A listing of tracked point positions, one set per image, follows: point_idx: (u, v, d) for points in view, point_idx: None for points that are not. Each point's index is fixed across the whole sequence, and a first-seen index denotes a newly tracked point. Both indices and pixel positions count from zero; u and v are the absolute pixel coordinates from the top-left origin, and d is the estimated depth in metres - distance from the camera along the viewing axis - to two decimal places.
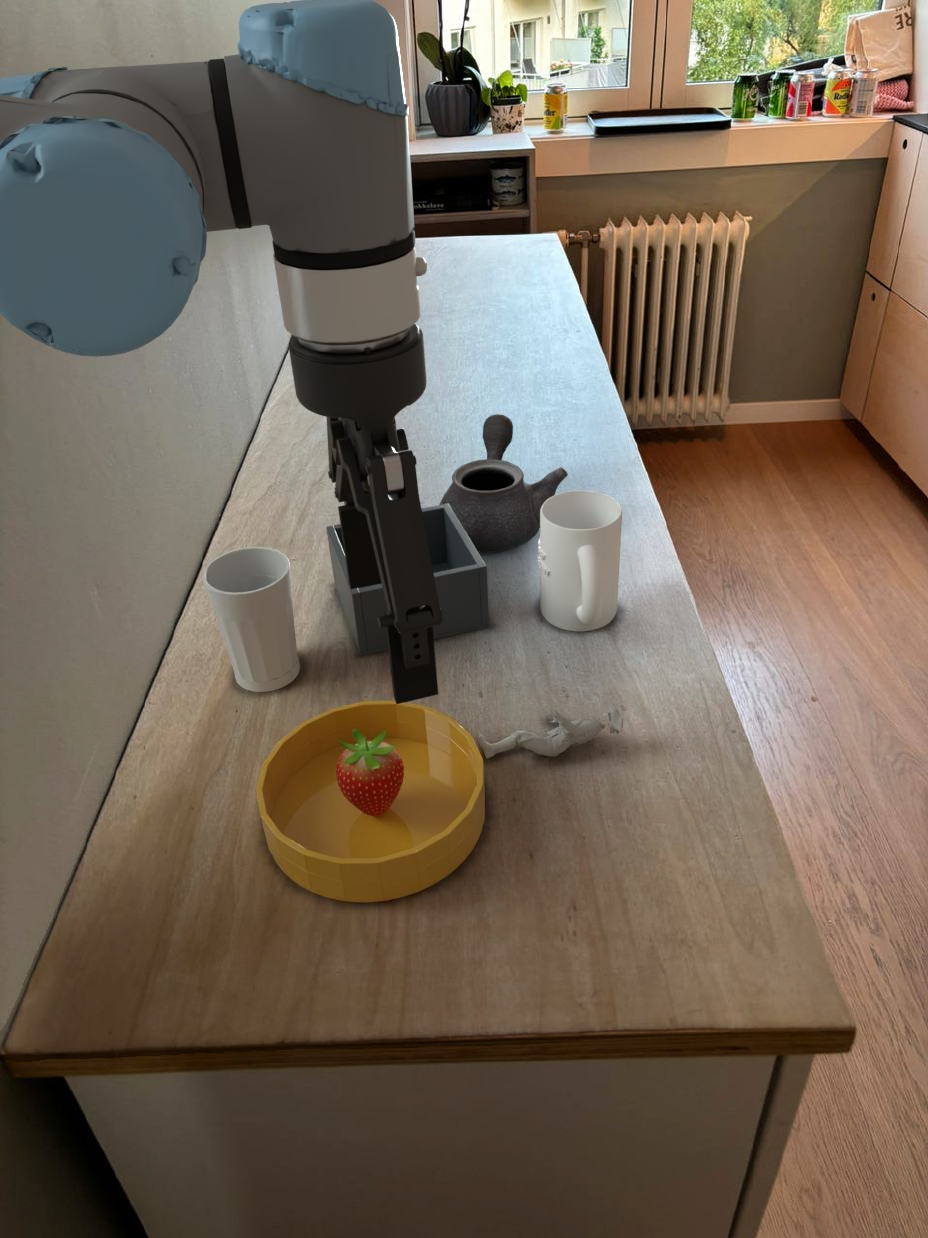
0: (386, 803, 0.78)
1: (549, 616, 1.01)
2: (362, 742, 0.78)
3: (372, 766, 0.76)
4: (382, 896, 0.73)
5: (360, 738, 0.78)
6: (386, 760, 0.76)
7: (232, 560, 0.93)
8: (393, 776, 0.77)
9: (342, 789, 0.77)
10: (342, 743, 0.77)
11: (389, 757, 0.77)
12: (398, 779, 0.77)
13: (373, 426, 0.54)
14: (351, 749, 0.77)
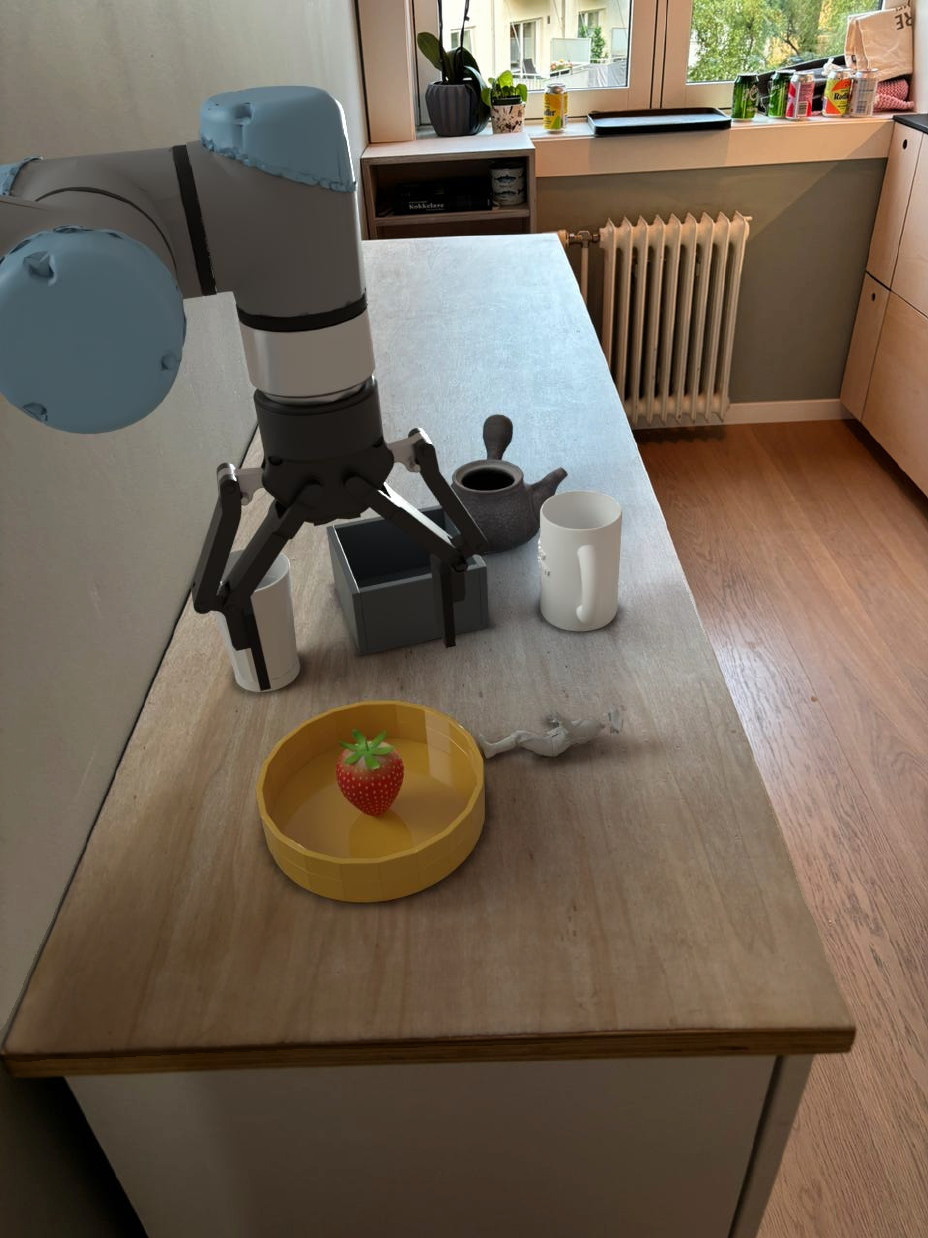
0: (386, 803, 0.78)
1: (549, 616, 1.01)
2: (362, 742, 0.78)
3: (372, 766, 0.76)
4: (382, 896, 0.73)
5: (360, 738, 0.78)
6: (386, 760, 0.76)
7: (232, 560, 0.93)
8: (393, 776, 0.77)
9: (342, 789, 0.77)
10: (342, 743, 0.77)
11: (389, 757, 0.77)
12: (398, 779, 0.77)
13: None
14: (351, 749, 0.77)
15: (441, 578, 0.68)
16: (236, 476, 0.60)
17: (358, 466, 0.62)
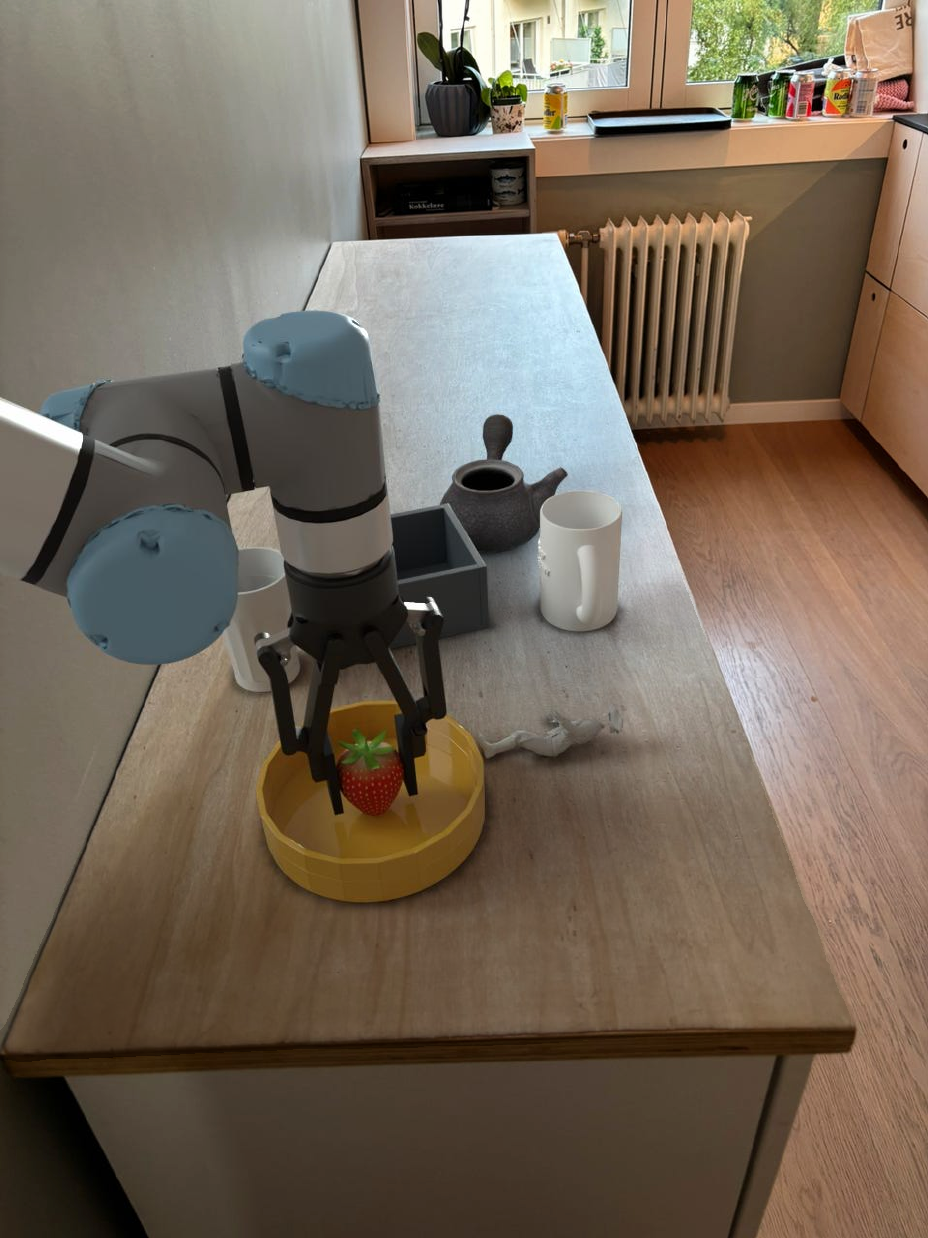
0: (386, 803, 0.78)
1: (549, 616, 1.01)
2: (362, 742, 0.78)
3: (372, 766, 0.76)
4: (382, 896, 0.73)
5: (360, 738, 0.78)
6: (386, 760, 0.76)
7: None
8: (393, 776, 0.77)
9: (342, 789, 0.77)
10: (342, 743, 0.77)
11: (389, 757, 0.77)
12: (398, 779, 0.77)
13: None
14: (351, 749, 0.77)
15: (403, 740, 0.76)
16: (269, 645, 0.68)
17: (377, 614, 0.69)
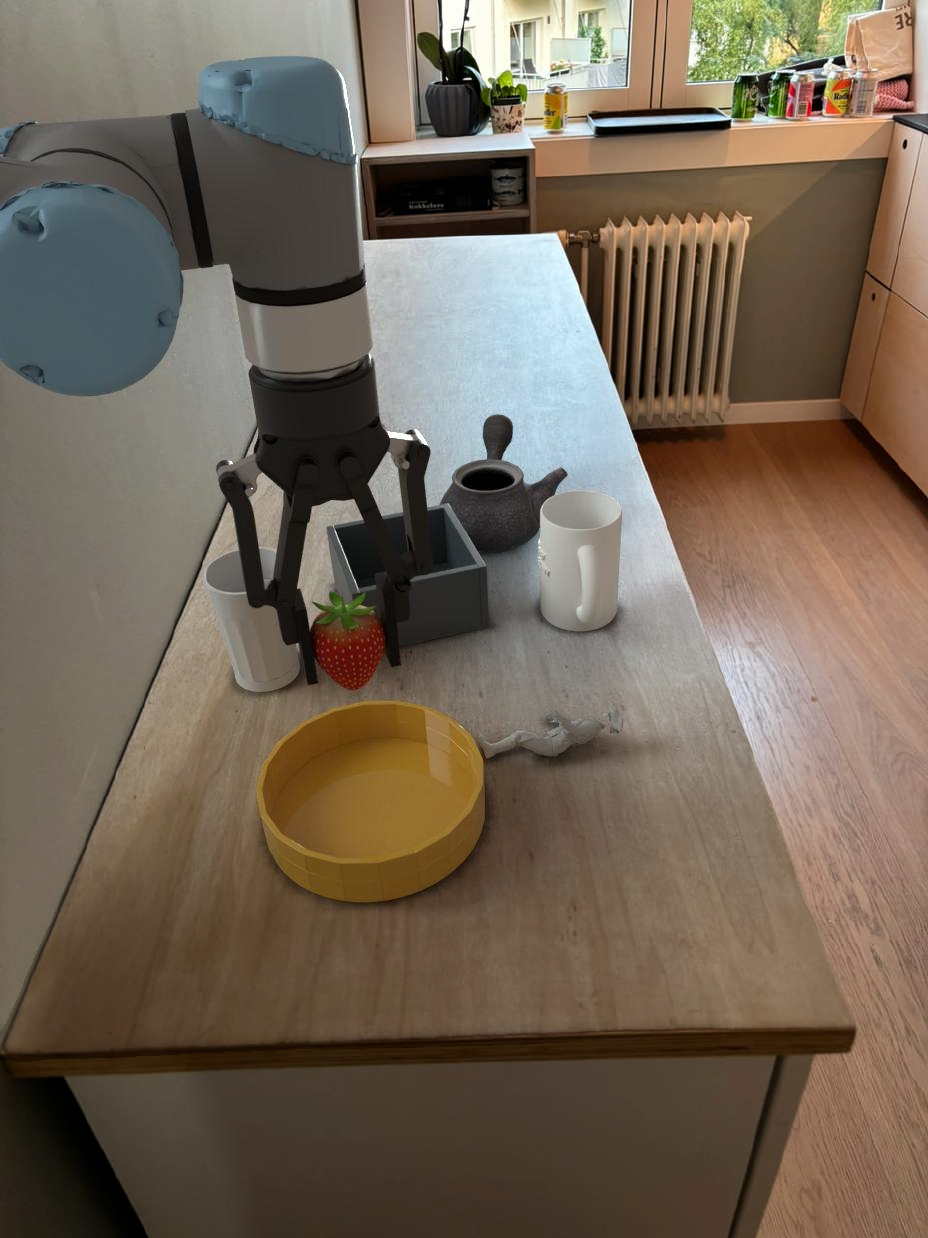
0: (365, 672, 0.70)
1: (549, 616, 1.01)
2: (339, 604, 0.70)
3: (350, 626, 0.68)
4: (382, 896, 0.73)
5: (337, 600, 0.70)
6: (365, 622, 0.69)
7: (231, 560, 0.93)
8: (373, 640, 0.69)
9: (316, 655, 0.69)
10: (317, 604, 0.69)
11: (369, 619, 0.69)
12: (379, 645, 0.69)
13: None
14: (326, 610, 0.69)
15: (384, 598, 0.68)
16: (232, 471, 0.60)
17: (355, 438, 0.61)
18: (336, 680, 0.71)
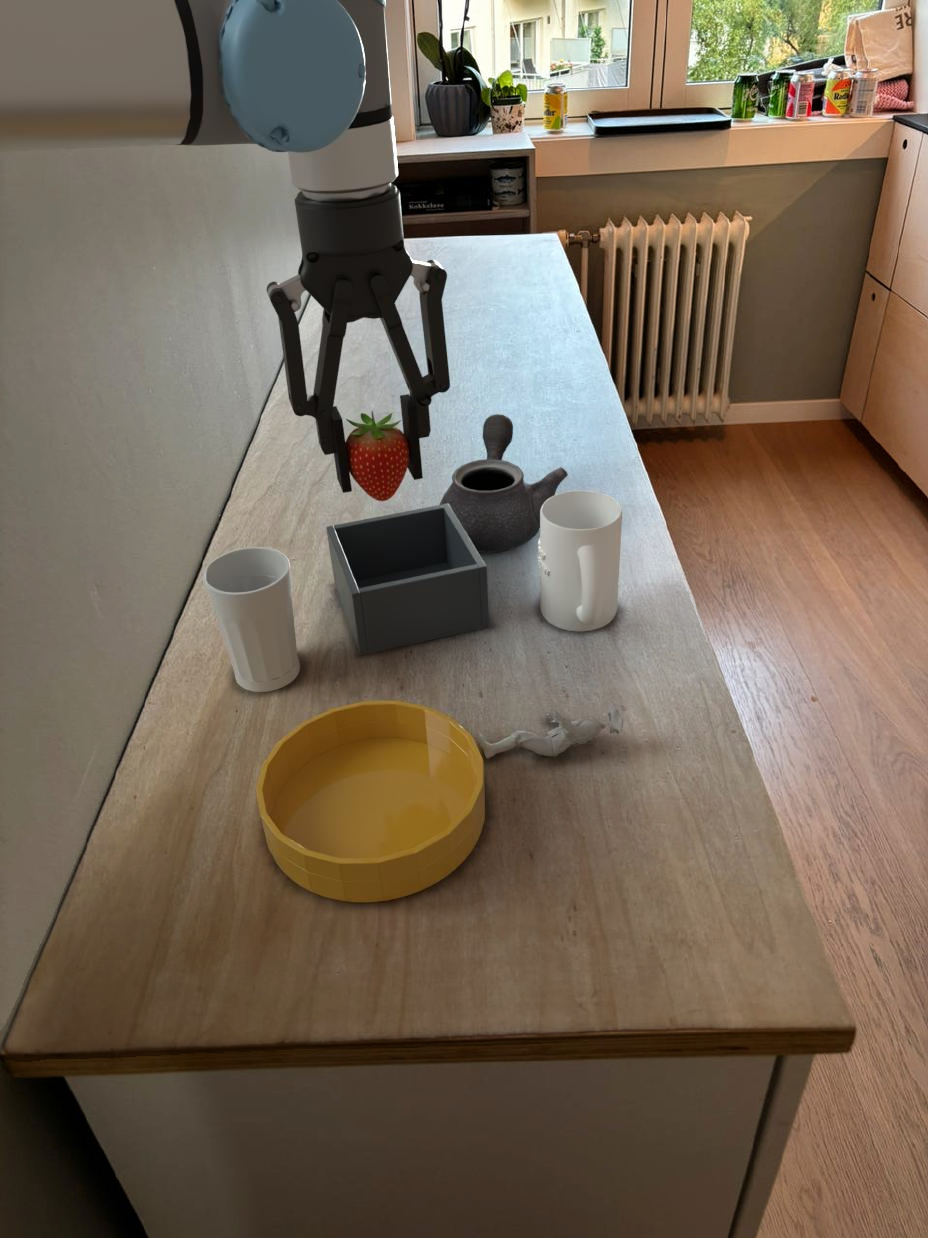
0: (392, 480, 0.81)
1: (549, 616, 1.01)
2: (369, 422, 0.81)
3: (379, 436, 0.79)
4: (382, 896, 0.73)
5: (367, 419, 0.82)
6: (392, 435, 0.80)
7: (232, 560, 0.93)
8: (399, 451, 0.80)
9: (350, 464, 0.81)
10: (350, 421, 0.81)
11: (395, 433, 0.80)
12: (404, 456, 0.81)
13: None
14: (359, 426, 0.81)
15: (408, 412, 0.79)
16: (280, 288, 0.72)
17: (384, 260, 0.72)
18: (367, 489, 0.82)
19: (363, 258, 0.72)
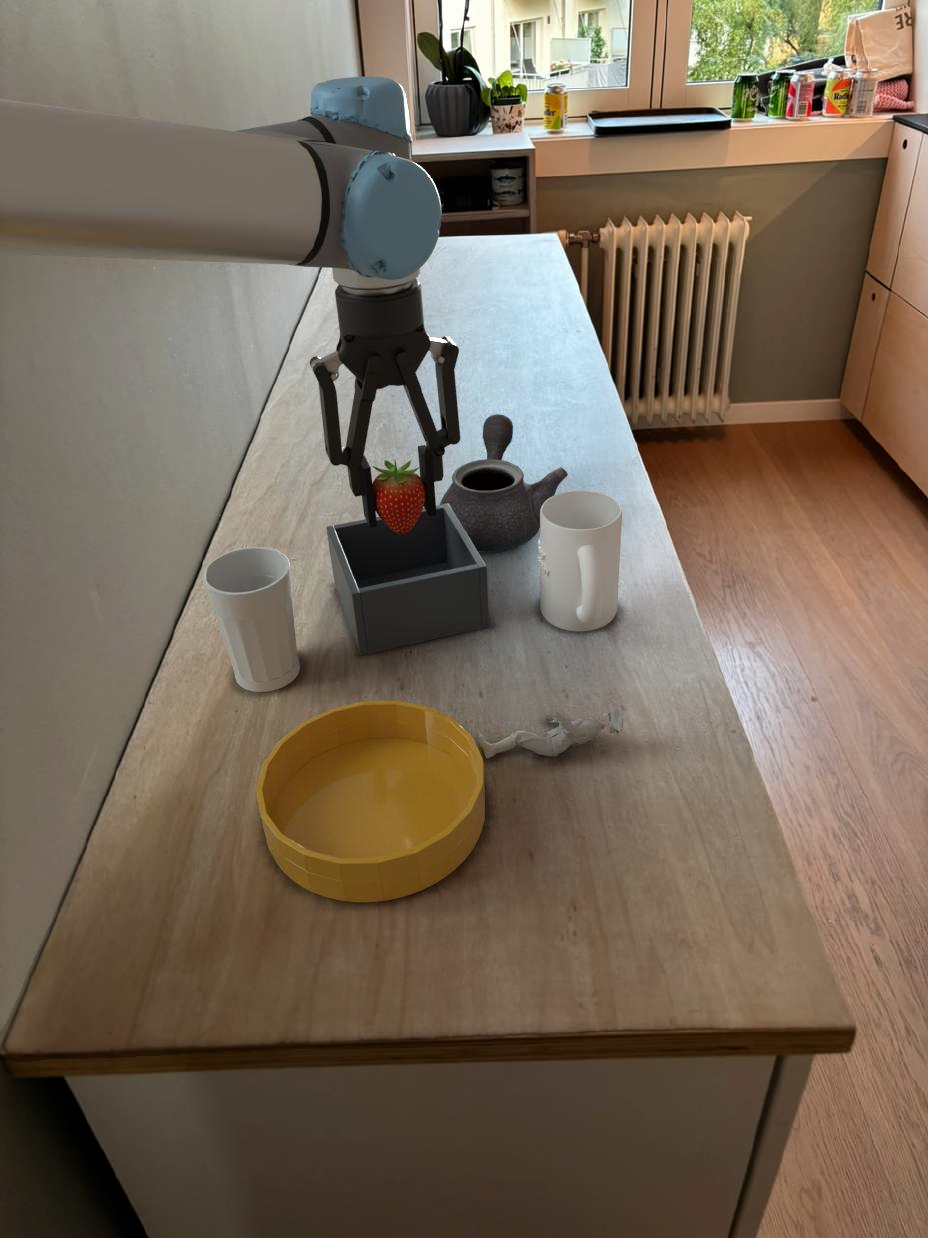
0: (411, 517, 0.97)
1: (549, 616, 1.01)
2: (392, 468, 0.96)
3: (401, 481, 0.94)
4: (382, 896, 0.73)
5: (390, 466, 0.97)
6: (411, 479, 0.95)
7: (231, 560, 0.93)
8: (417, 492, 0.95)
9: (376, 504, 0.96)
10: (376, 468, 0.96)
11: (414, 477, 0.96)
12: (421, 497, 0.96)
13: None
14: (383, 472, 0.96)
15: (425, 460, 0.94)
16: (322, 362, 0.87)
17: (407, 339, 0.87)
18: (390, 524, 0.97)
19: (390, 338, 0.87)
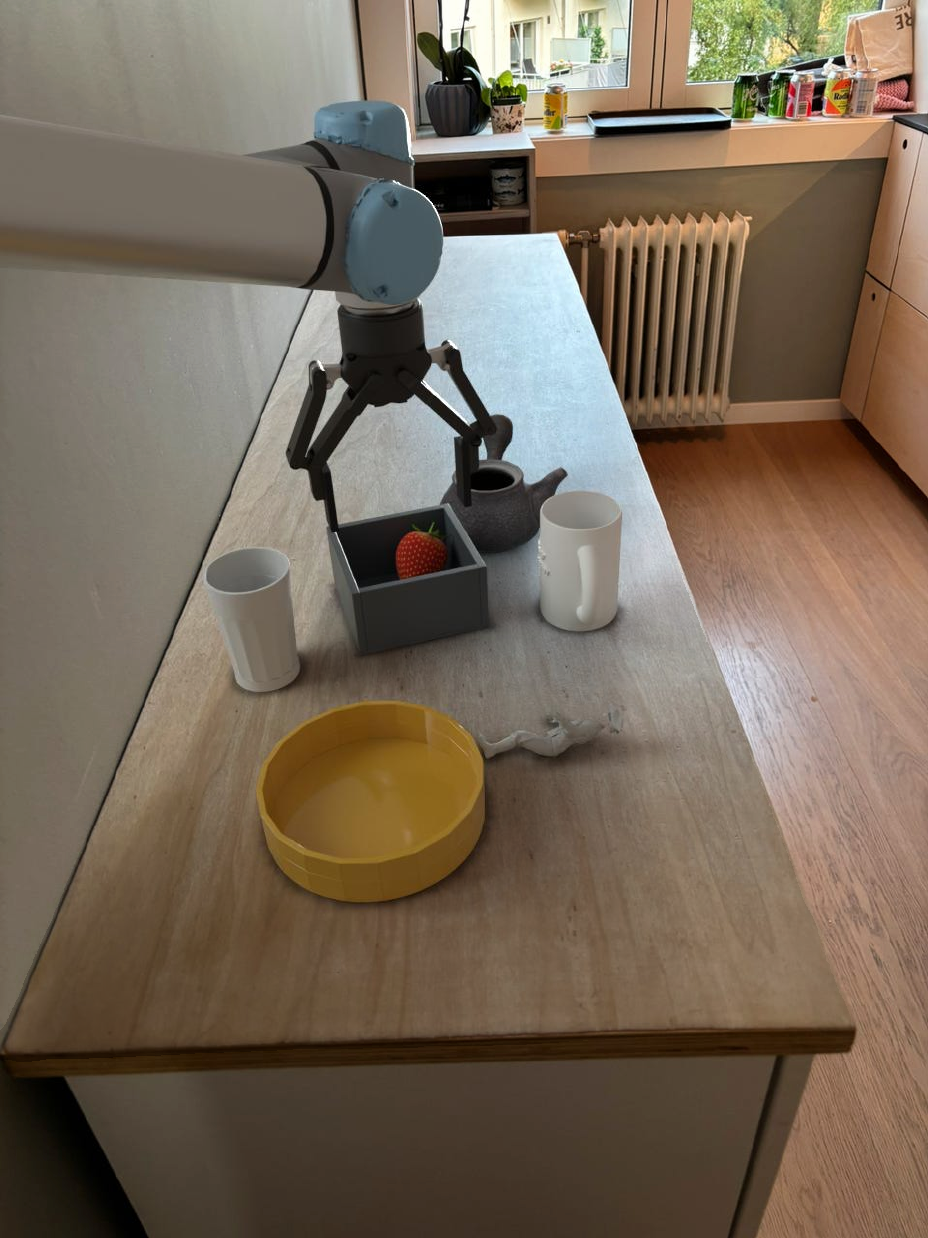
0: (426, 571, 1.03)
1: (549, 616, 1.01)
2: None
3: (432, 533, 1.03)
4: (382, 896, 0.73)
5: None
6: (440, 541, 1.04)
7: (232, 560, 0.93)
8: (441, 551, 1.03)
9: (402, 546, 1.03)
10: None
11: (443, 543, 1.05)
12: (442, 559, 1.04)
13: None
14: None
15: (462, 451, 0.95)
16: (323, 368, 0.87)
17: (407, 363, 0.89)
18: (404, 571, 1.03)
19: (392, 356, 0.88)
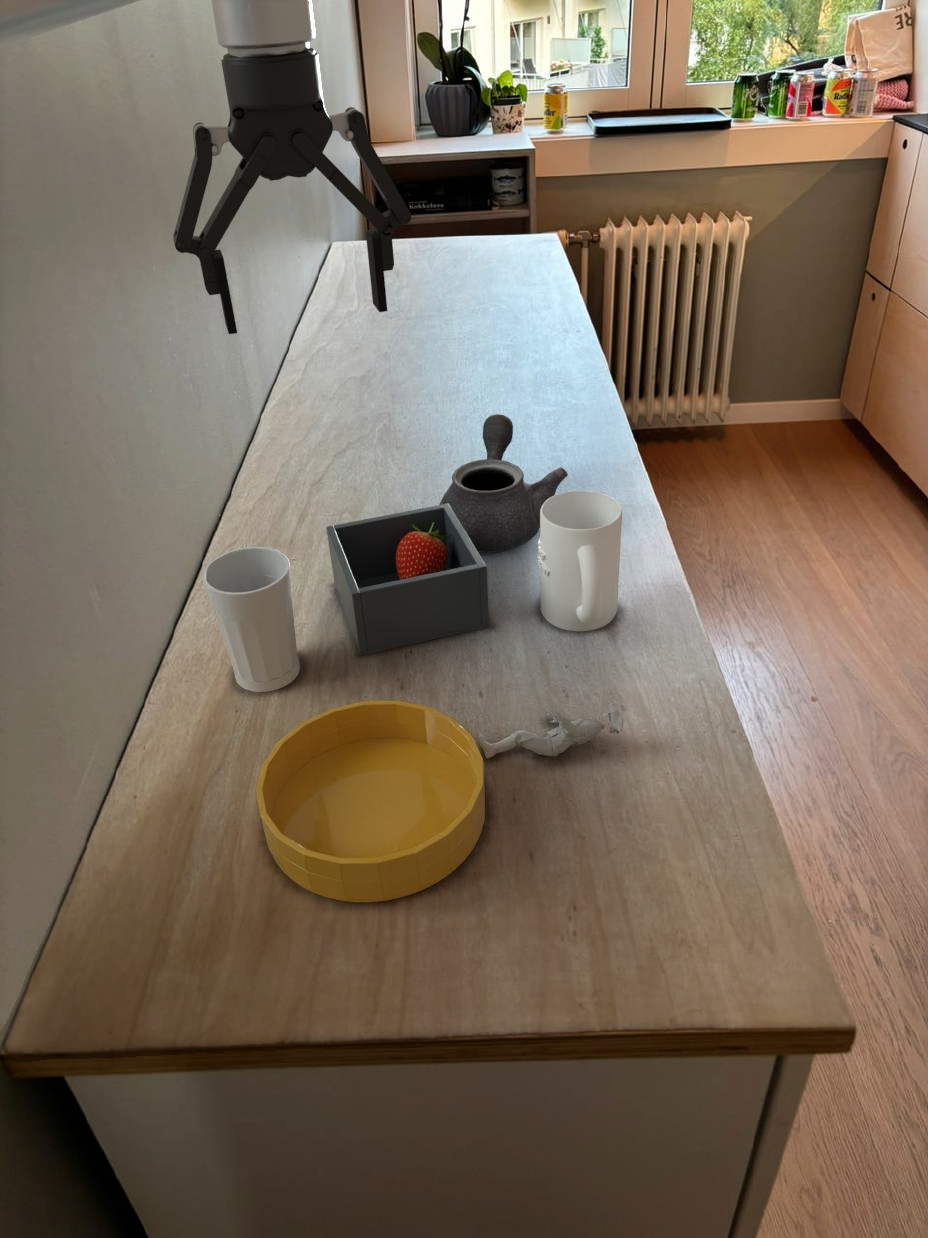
0: (426, 571, 1.03)
1: (549, 616, 1.01)
2: None
3: (432, 533, 1.03)
4: (382, 896, 0.73)
5: None
6: (440, 541, 1.04)
7: (231, 560, 0.93)
8: (441, 551, 1.03)
9: (402, 546, 1.03)
10: None
11: (443, 543, 1.05)
12: (442, 559, 1.04)
13: None
14: None
15: (373, 242, 0.86)
16: (208, 128, 0.78)
17: (303, 127, 0.79)
18: (404, 571, 1.03)
19: (286, 117, 0.78)
